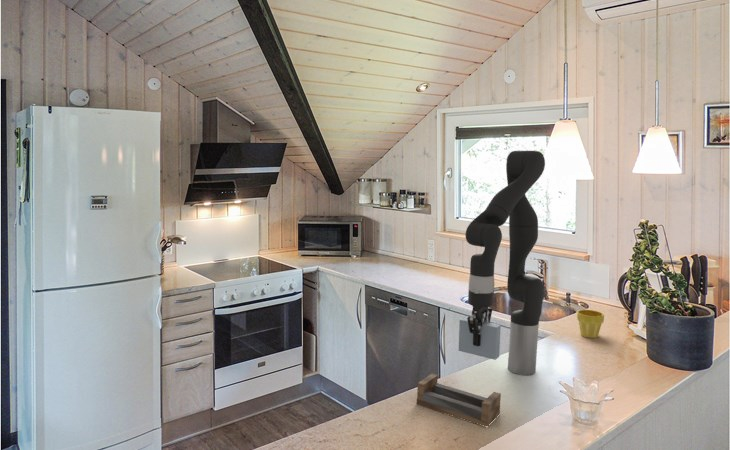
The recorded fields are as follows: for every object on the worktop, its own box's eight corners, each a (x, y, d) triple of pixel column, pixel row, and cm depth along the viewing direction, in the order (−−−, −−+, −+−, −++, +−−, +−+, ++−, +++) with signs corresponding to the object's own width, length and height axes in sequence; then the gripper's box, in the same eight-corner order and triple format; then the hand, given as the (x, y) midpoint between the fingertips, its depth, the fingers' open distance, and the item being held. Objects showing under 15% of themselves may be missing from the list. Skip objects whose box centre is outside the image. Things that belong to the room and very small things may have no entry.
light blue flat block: (462, 347, 164) (463, 317, 163) (499, 356, 157) (500, 324, 156) (458, 350, 162) (459, 319, 161) (495, 359, 155) (497, 327, 154)
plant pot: (570, 332, 222) (572, 309, 220) (591, 330, 224) (592, 308, 223) (586, 340, 212) (588, 317, 210) (608, 338, 214) (610, 315, 213)
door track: (431, 393, 161) (432, 373, 160) (499, 415, 148) (501, 393, 147) (416, 404, 154) (417, 383, 153) (487, 427, 141) (488, 405, 140)
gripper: (479, 282, 165) (476, 335, 167) (459, 291, 153) (457, 348, 156) (501, 286, 160) (499, 340, 163) (483, 296, 149) (481, 353, 151)
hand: (478, 343), depth 159 cm, fingers closed on light blue flat block, 3 cm apart
